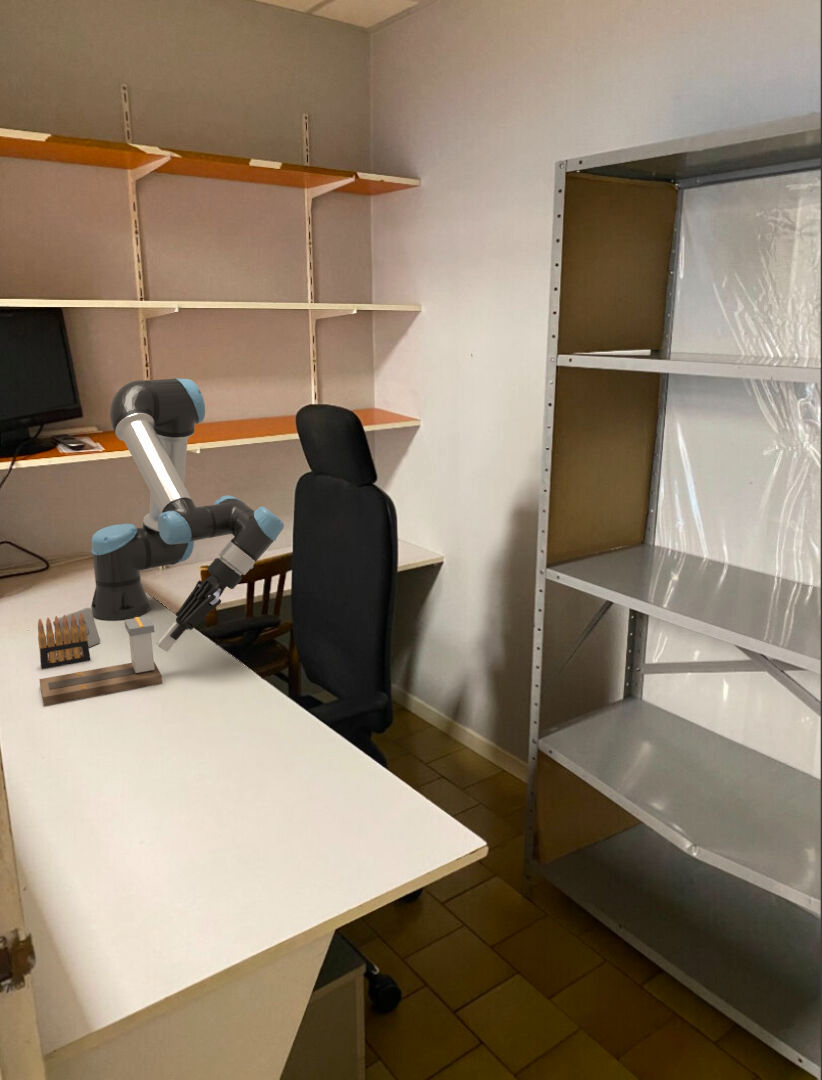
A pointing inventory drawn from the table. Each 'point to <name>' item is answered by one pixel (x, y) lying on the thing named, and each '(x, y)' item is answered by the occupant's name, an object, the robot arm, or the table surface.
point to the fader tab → (141, 643)
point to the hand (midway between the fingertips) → (161, 647)
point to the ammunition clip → (63, 643)
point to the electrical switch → (89, 624)
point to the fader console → (96, 683)
